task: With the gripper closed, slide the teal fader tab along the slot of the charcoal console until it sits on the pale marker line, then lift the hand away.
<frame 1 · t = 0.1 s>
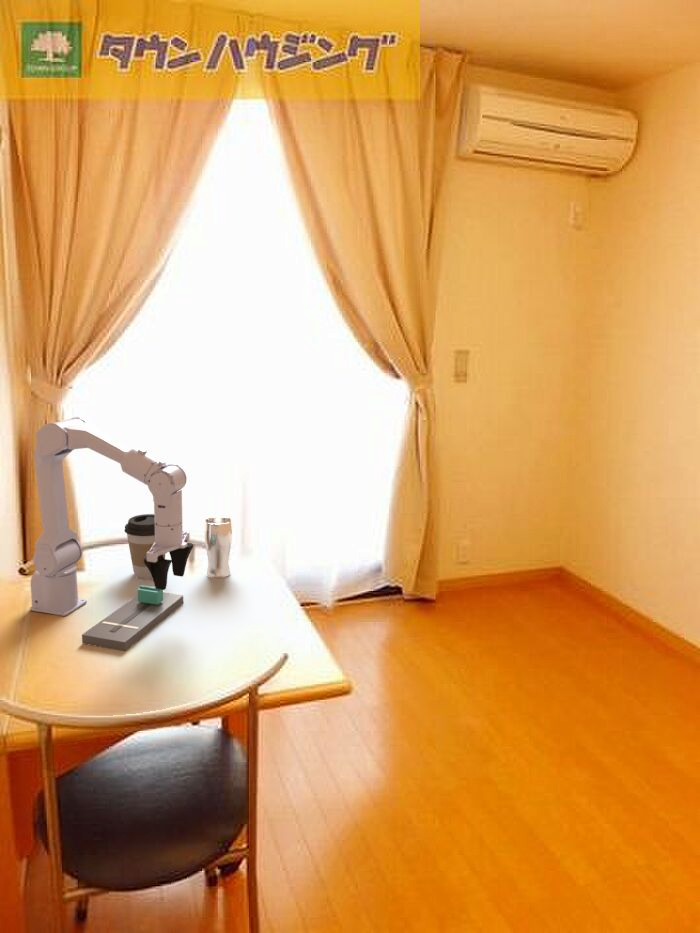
hand: (169, 581, 143), 10 cm above the table, tool pointing down, fingers open, 7 cm apart
coffee cup: (148, 574, 172), on the table
fader console: (136, 621, 145), on the table
beer glass: (218, 574, 173), on the table
fader tab: (150, 594, 150), point 4 cm above the table, slide at 0.0 cm
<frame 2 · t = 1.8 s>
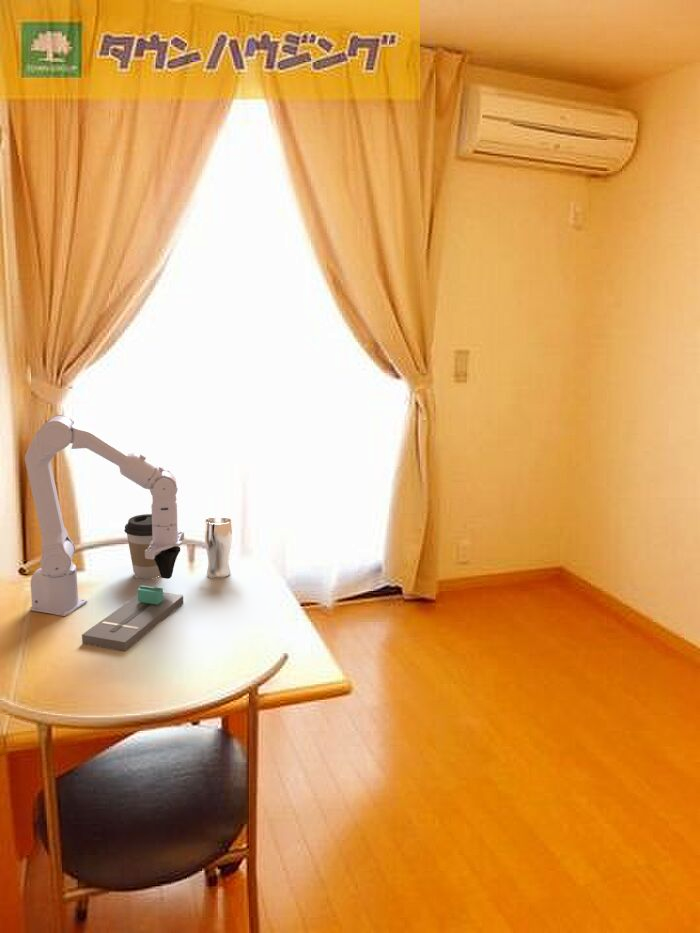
hand: (166, 577, 156), 5 cm above the table, tool pointing down, fingers closed
nothing on the table moved.
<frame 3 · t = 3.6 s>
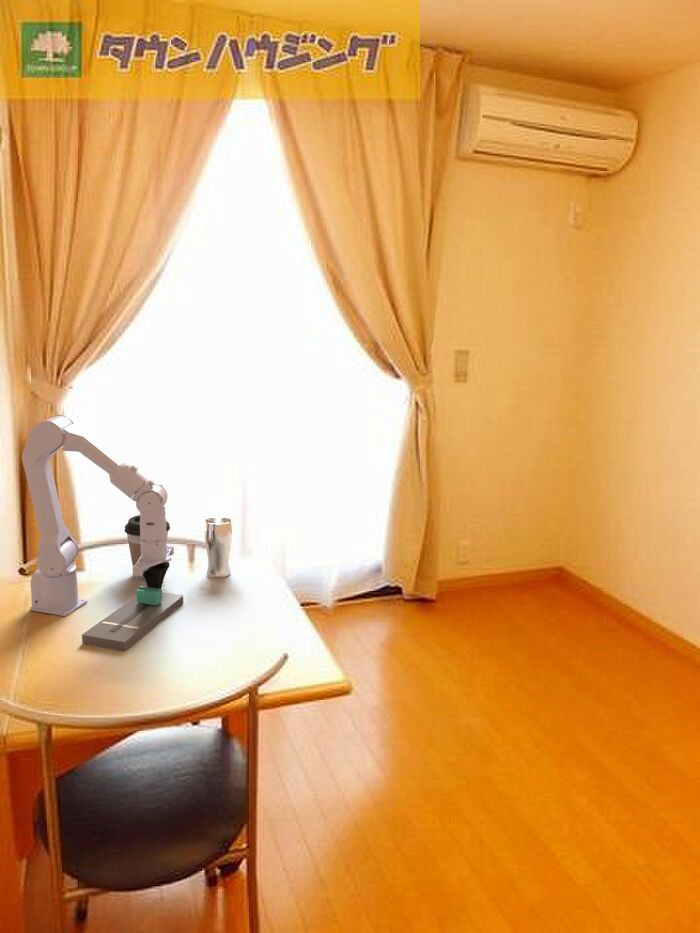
hand: (155, 593, 152), 3 cm above the table, tool pointing down, fingers closed
fader tab: (149, 594, 150), point 4 cm above the table, slide at 0.4 cm, touching gripper
everything else where it was.
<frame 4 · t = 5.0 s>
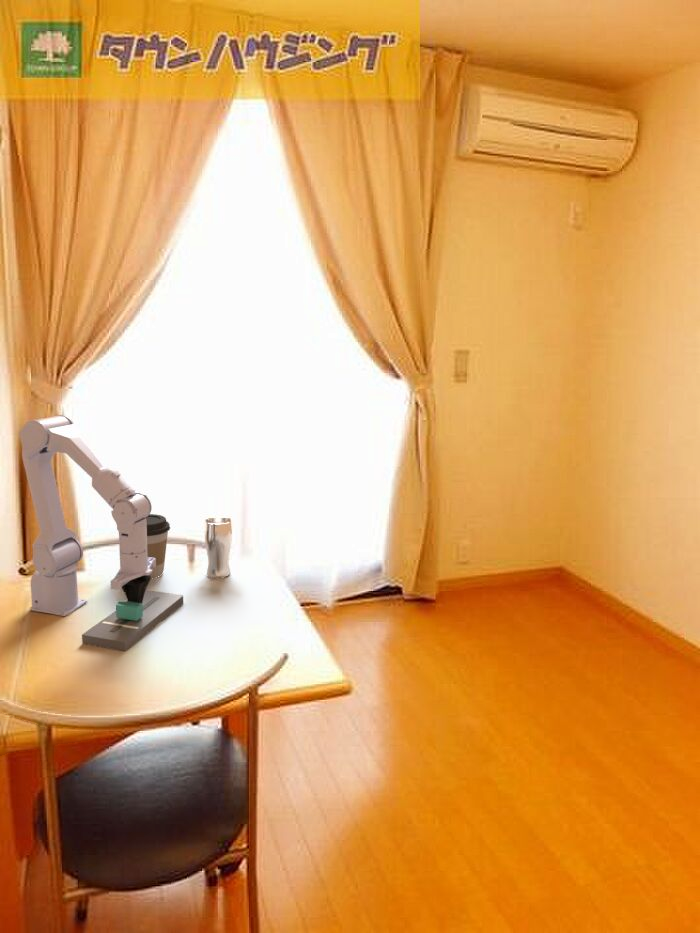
hand: (135, 607, 144), 3 cm above the table, tool pointing down, fingers closed
fader tab: (129, 609, 142), point 4 cm above the table, slide at 8.5 cm, touching gripper
everything else where it was.
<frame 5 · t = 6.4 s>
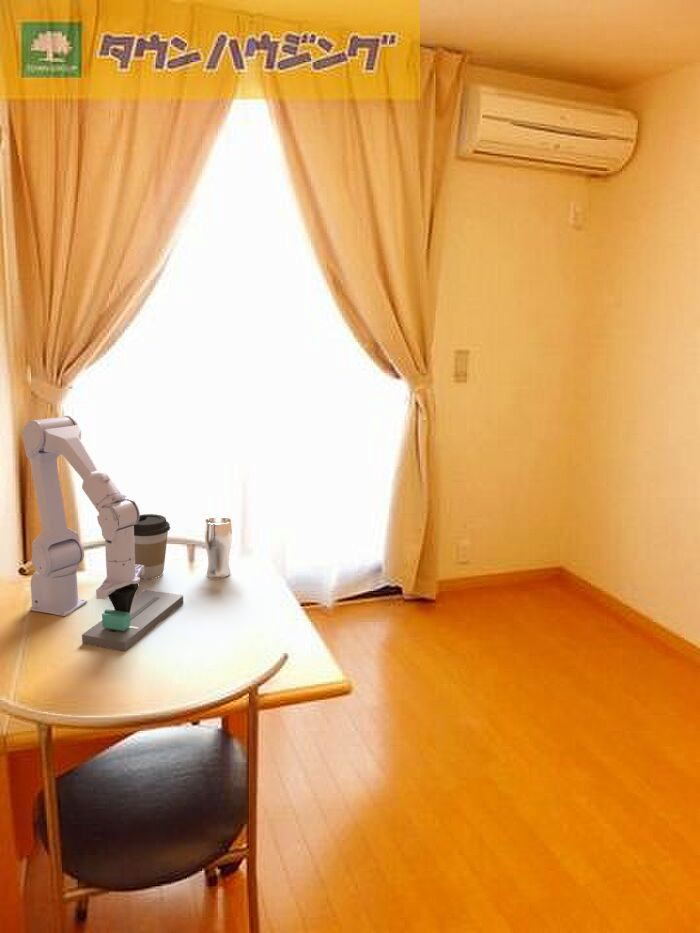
hand: (123, 617, 140), 3 cm above the table, tool pointing down, fingers closed
fader tab: (116, 619, 137), point 4 cm above the table, slide at 13.4 cm, touching gripper
everything else where it was.
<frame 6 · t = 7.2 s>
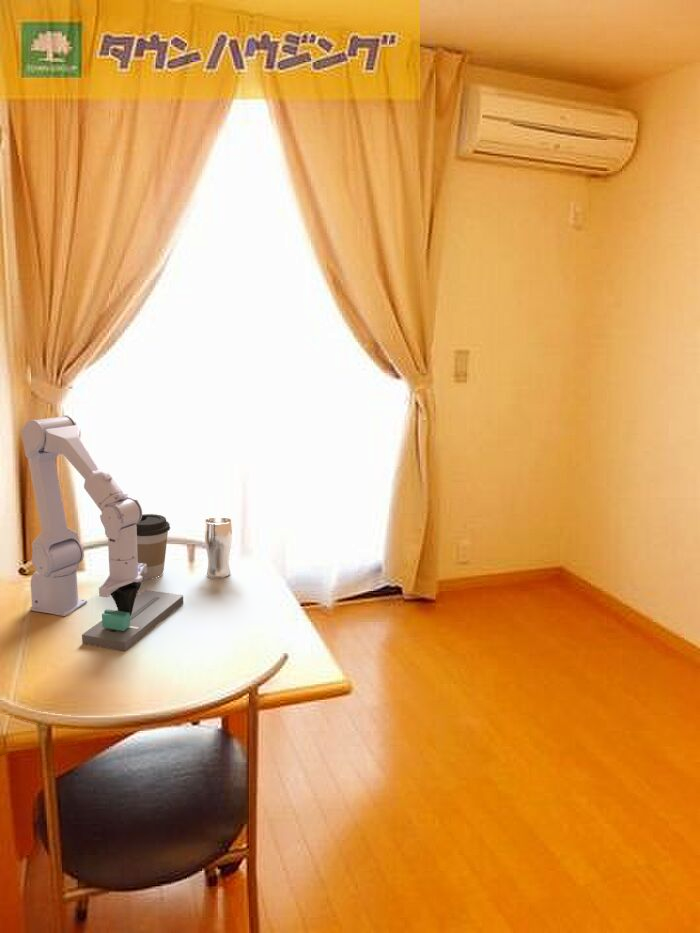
hand: (125, 615, 141), 3 cm above the table, tool pointing down, fingers closed
fader tab: (116, 619, 137), point 4 cm above the table, slide at 13.4 cm
everything else where it was.
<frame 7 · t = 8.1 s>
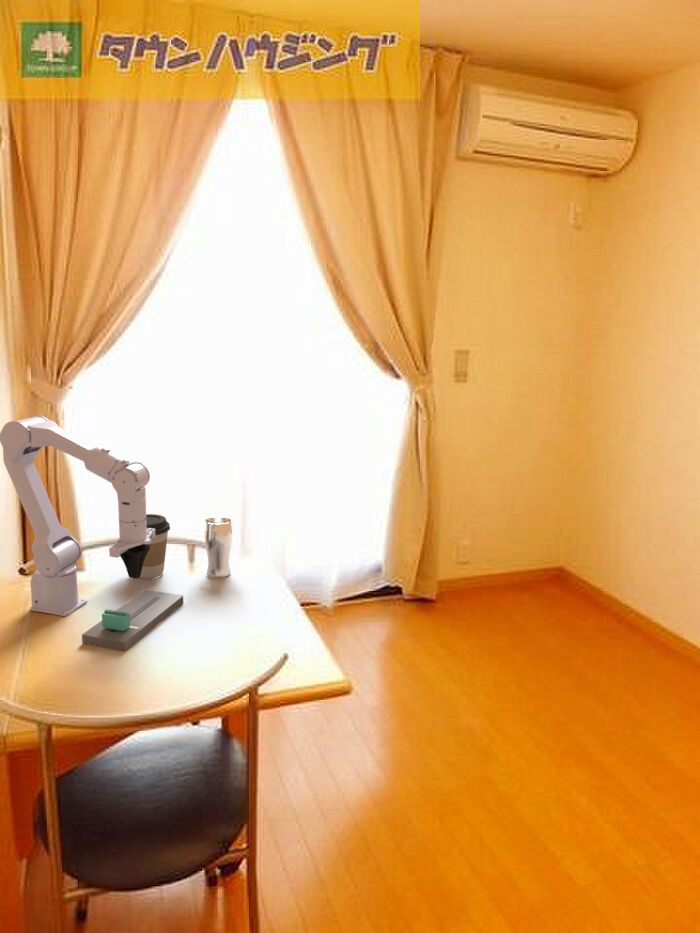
hand: (134, 577, 146), 9 cm above the table, tool pointing down, fingers closed
nothing on the table moved.
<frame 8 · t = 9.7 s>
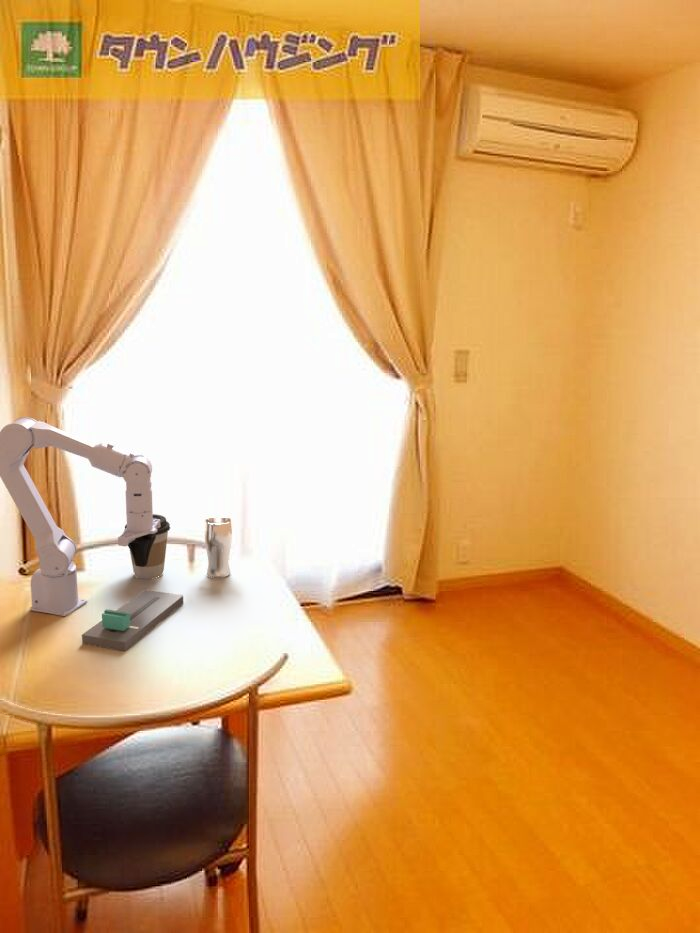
hand: (141, 565, 153), 9 cm above the table, tool pointing down, fingers closed
nothing on the table moved.
at the end: fader tab slide at 13.4 cm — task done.
